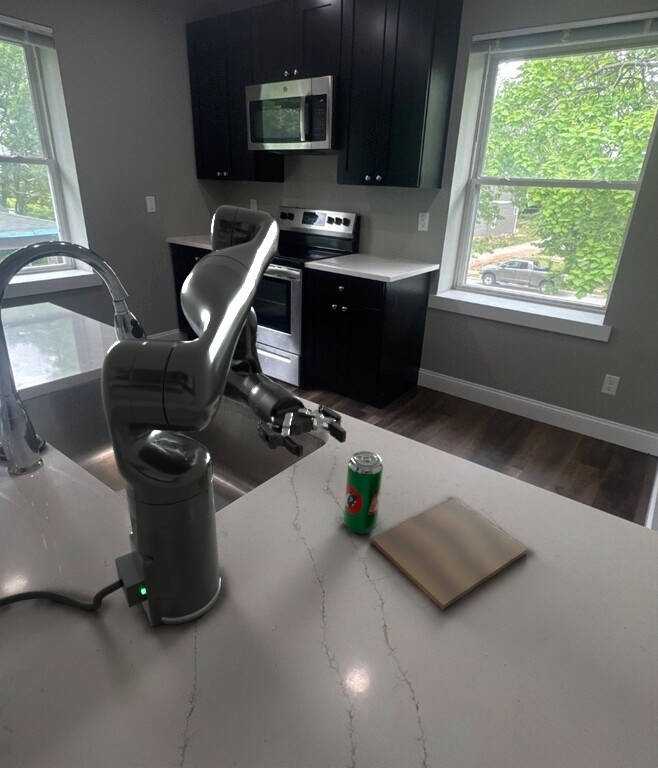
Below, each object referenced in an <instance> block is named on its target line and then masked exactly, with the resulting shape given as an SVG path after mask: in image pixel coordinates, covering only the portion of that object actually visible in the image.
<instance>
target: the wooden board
mask: <svg viewBox="0 0 658 768" xmlns="http://www.w3.org/2000/svg"><path fill="white" fill-rule="evenodd" d="M371 544H372V545H373V546H375V547H376V549H378V551H380V552H381V554H383V555H384V556H385V557H386V558H387V559H388V560H389V561H390V562H392V564H393V565H394V566H395V567H397V568H398V569H399V570H400V572H402V573H403V574H404V575H405V576H406V577H407V578H408V579H409V580H410V581H411V582H413V583H414V584H415V585H416V586H417V587H418V588H419V589H420V590H421V591H422V592H423V593H424V594H425V595H426V596H427V597H429V599H431V600H432V602H434V604H436V605H437V606H438V607H439V608H440V610H442V611H443V610H445V609H447V608H448V607H449V606H451V605H452V604H453V603H455V602H456V601H458V600H459V599H461V598H463V597H464V596H466V595H467V594H468V593H470V592H472V591H473V590H474V589H476V588H477V587H479V586H481V585H482V584H483V583H485V582H486V581H488V580H490V579H491V578H492V577H494V576H495V575H497V574H498V573H499V572H501V571H502V570H504V569H506V568H507V567H508V566H510V565H511V564H513V563H515V562H516V561H517V560H519V559H520V558H522V557H523V556H525V555H526V554H527V553H528V548H527V547H525V546H524V545H522V544H521V543H519V542H518V541H516V540H515V539H514V538H512V537H510V536H509V535H508V534H507V533H505V532H504V531H502V529H501V530H500V529H499V528H498V527H497V526H495V525H493V524H492V523H491V522H489V521H488V520H486V519H485V518H483V517H482V516H481V515H479V514H478V513H476V512H475V511H473V510H472V509H470V508H469V507H468V506H466V505H465V504H463V503H462V502H461V501H459V500H457V498H451V499H450V500H447V501H446V502H444V503H442V504H439V505H438V506H435V507H433V508H431V509H429V510H427V511H425V512H423V513H421V514H419V515H417V516H415V517H413V518H411V519H409V520H407V521H404V522H402V523H401V524H399V525H397V526H395V527H393V528H391V529H389V530H386V531H385V532H382V533H381V534H378V535H377V536H374V537H372V538H371Z"/></svg>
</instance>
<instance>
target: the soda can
mask: <svg viewBox="0 0 658 768" xmlns="http://www.w3.org/2000/svg"><path fill="white" fill-rule="evenodd" d="M383 469H384V466H383V463H382V459H381V457H380V455H378V454H377V453H375V452H372V451H367V450H361V451H360V450H359V451H356V452H355V453H353V454H351V456H350V459H349V461H348V462H347V475H346V486H345V487H346V488H345V500H344V512H343V513H344V514H343V523H344V525H345V527H346V529H348V530H349V531H351V532H352V533H354V534H359V535H363V534H368V533H370V532H372V531H373V530H374V529H376V527H377V524H378V514H379V505H380V498H381V497H380V496H381V486H382V478H383V471H384V470H383Z"/></svg>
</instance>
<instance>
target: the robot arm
mask: <svg viewBox="0 0 658 768" xmlns="http://www.w3.org/2000/svg"><path fill="white" fill-rule="evenodd" d="M279 239H280V229H279V224H278V221H277V219H276V217H275V216H274V215H273V214H271V213H270V212H267V211H265V210H260V209H254V208H248V207H243V206H238V205H237V206H236V205H229V204H222V205H219V207H217V208H216V210H215V212H214V214H213V217H212V222H211V227H210V242H211V243H210V246H211V252H209V253H207V254H205V255H204V256H203V257H202V258H200V259H199V261H197V263H196V264H195V265H194V267H193V268H192V270H191V271H190V272H189V274H188V275H187V277H186V279H185V280H184V282H183V285H182V287H181V290H180V305H181V309H182V313H183V314H184V316H185V319H186V321H187V322H188V324H189V325H190V327H191V328H192V330H193V331H194V333H195V334H196V336H197V337H198V338H196V339H193V340H176V339H175V340H174V339H173V340H172V339H158V338H157V339H156V338H139V337H137V338H136V337H135V338H134V337H129V338H123V339H119V340H117V341H116V342H114V343H113V344H112V345H111V346H110V347H109V349H108V351H107V352H106V354H105V357H104V359H103V362H102V367H101V372H100V373H101V374H100V392H101V393H100V394H101V400H102V407H103V413H104V416H105V421H106V426H107V430H108V434H109V438H110V442H111V447H112V452H113V456H114V461H115V466H116V470H117V471H118V474H119V476H120V477H121V479H122V481H123V483H124V488H125V495H126V500H127V508H128V514H129V521H130V527H131V532H130V533H129V534H128V539H129V543H130V549H131V550H130V551H131V552H129V553H126V554H123V555H121V556H119V557H115V558H114V562H115V563H114V564H115V569H116V573H117V578H118V579H117V580H115V581H114V582H112V583H110V584H108V585H106V586H105V587H103V588H101V589H100V590H99V591H97V592H96V593H95V595H94V596H93V599H92V601H85V600H80V599H78V598H75V597H72V596H70V595H67V594H65V593H61V592H57V591H52V590H45V589H44V590H29V591H23V592H18V593H15V594H10V595H7V596H4V597H1V598H0V608H2V607H5V606H8V605H11V604H15V603H19V602H24V601H29V600H40V599H42V600H50V601H54V602H57V603H61V604H64V605H67V606H71V607H73V608H77V609H79V610H83V611H96V610H98V609H99V608H101V606H102V604H103V599H104V598H105V597H107V596H109V595H110V594H112V593H115V592H116V591H118V590H120V589H122V592H123V594H124V597H125V600H126V603H127V606H128V608H132V607H134V606H136V605H138V604H141V603H142V609H143V610H144V612H145V614H146V616H147V619H148V621H149V624H150V626H151V627H157V626H159V625H161V624H164V625H177V624H178V625H179V624H184V623H188V622H190V621H193V620H196V619H197V618H200V617H201V616H203V615H204V614H206V613H207V612H208V611H209V610H210V609H212V607H214V605H215V604H216V602H217V601H218V599H219V597H220V595H221V594H220V593H221V589H222V583H221V581H222V580H221V575H220V573H221V572H220V565H219V564H220V563H219V549H218V547H219V546H218V533H217V531H218V530H217V514H216V498H215V485H214V483H215V482H214V481H215V480H214V468H213V467H214V466H213V458H212V455H211V452H210V451H209V449H208V448H207V447H206V446H205V445H204V444H203V443H201V442H200V441H198V440H196V439H194V438H192V437H190V436H187V435H186V434H182V433H197V432H201V431H204V430H206V429H207V428H208V427H209V426H211V424H212V422H213V421H214V419H215V418H216V416H217V414H218V411H219V409H220V406H221V403H222V400H223V397H225V398H227V399H229V400H232V401H234V402H235V401H236V402H238V403H242V404H244V405H246V406H247V407H248V408H249V409H250V410H251V411H252V412H253V414H254V415H255V416H256V417H257V418H258V419H259V421H257V435H258V437H259V438H260V439H261V440H262V441H263V442H264V443H265V445H267V447H268V448H269V449H270V450H277V449H278V447H281V448H282V449H285V450H287V451H288V452H289V453H290V454H291V455H293V456H296V457H297V458H301V457H302V456H303V455H304V446H303V444H302V443H301V442H300V441H299V440H298V439H297V438H296V436H300V435H302V434H306V433H314V434H318V435H319V434H321V433H326V434H329V435H330V436H331V437H332V438H334V440H336V441H338V442H339V443H341V444H343V443H345V442H346V439H347V430H346V429H345V428H344V427H342V425H341V423H342V415H341V414H339V413H338V412H336V411H335V410H333V409H332V408H330V407H328V406H326V405H325V404H319V405H318V409H314V410H312V409H311V408H307V407H306V406H305V404H304V403H303V401H302V400H301V399H300V398H299V397H298V396H297V395H295V394H294V393H292V392H291V391H290V390H288V389H287V388H285V387H284V386H283V385H282V384H279V383H277V382H275V381H274V380H273V379H271V378H270V377H268V376H266V375H265V374H264V371H263V368H262V364H261V362H260V357H259V353H258V347H257V343H258V327H259V324H258V317H257V314H256V311H255V309H254V303H255V300H256V298H257V293H258V291H259V287H260V284H261V282H262V279H263V277H264V275H265V274H266V272H267V270H268V269H269V268H270V265H271V263H272V262H273V260H274V257H275V255H276V253H277V249H278V246H279ZM315 420H316V426H314V425H315V424H314V423H315ZM324 423H325V424H327V426H324Z"/></svg>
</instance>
